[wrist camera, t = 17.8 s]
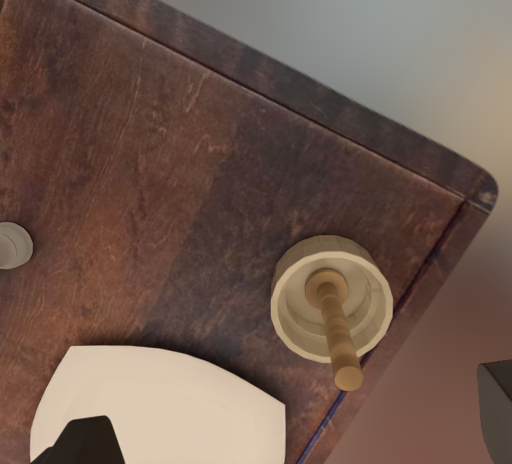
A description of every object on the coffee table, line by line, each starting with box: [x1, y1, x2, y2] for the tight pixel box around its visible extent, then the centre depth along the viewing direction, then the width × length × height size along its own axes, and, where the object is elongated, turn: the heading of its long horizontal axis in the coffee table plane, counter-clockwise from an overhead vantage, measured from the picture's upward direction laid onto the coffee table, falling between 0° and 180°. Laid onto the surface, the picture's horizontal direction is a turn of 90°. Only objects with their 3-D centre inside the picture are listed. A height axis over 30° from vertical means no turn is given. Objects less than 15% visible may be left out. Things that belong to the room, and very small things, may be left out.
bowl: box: [271, 235, 393, 363], centre depth 41 cm, size 10×10×6 cm
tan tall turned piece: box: [305, 268, 364, 391], centre depth 36 cm, size 4×4×15 cm
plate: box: [30, 345, 286, 464], centre depth 49 cm, size 27×27×2 cm
